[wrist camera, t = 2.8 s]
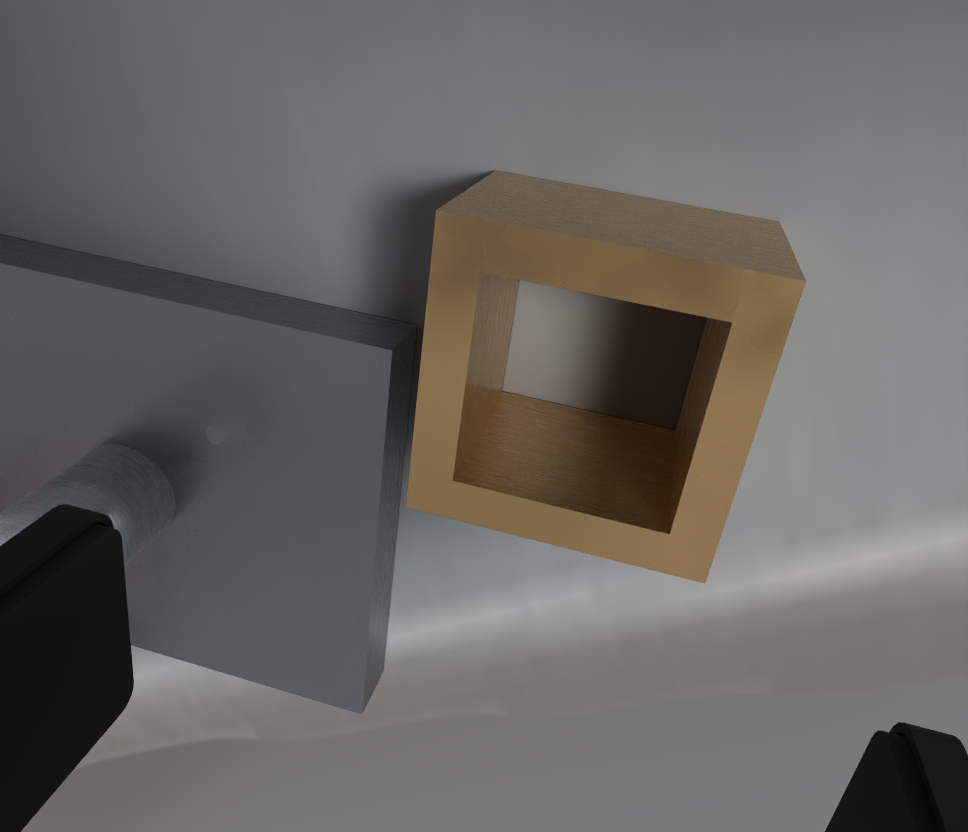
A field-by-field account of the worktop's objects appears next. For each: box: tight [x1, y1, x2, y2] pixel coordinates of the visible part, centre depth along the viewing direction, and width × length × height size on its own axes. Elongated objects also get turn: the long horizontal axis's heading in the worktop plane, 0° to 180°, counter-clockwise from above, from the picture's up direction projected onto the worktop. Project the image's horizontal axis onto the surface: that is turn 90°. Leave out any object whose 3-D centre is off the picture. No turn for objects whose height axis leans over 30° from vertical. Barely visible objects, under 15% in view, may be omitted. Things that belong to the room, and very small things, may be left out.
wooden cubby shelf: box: [406, 171, 806, 583], centre depth 18 cm, size 7×7×5 cm
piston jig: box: [0, 235, 417, 714], centre depth 22 cm, size 16×13×8 cm
